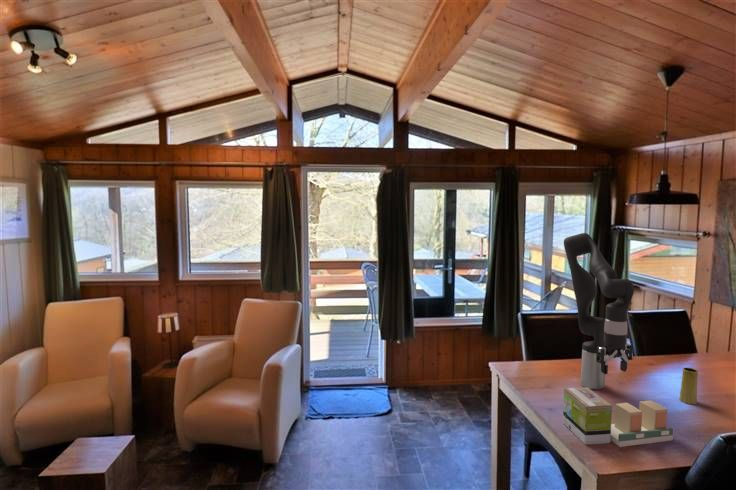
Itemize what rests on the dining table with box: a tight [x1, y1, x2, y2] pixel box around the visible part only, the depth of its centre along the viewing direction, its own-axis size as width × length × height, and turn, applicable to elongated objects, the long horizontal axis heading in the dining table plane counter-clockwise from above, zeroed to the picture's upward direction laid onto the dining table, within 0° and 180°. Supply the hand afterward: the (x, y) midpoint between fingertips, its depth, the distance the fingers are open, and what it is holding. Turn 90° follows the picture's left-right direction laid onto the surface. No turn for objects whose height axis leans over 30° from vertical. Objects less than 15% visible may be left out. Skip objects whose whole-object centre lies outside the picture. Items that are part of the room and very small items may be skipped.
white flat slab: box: [610, 423, 674, 448], centre depth 155 cm, size 22×11×4 cm, turn 101°
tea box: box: [562, 386, 613, 445], centre depth 156 cm, size 15×10×15 cm, turn 5°
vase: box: [679, 367, 699, 405], centre depth 181 cm, size 6×6×14 cm
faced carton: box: [638, 400, 668, 430], centre depth 156 cm, size 5×7×9 cm
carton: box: [613, 402, 642, 433], centre depth 154 cm, size 5×7×9 cm
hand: (613, 372), depth 160 cm, fingers open, 8 cm apart
